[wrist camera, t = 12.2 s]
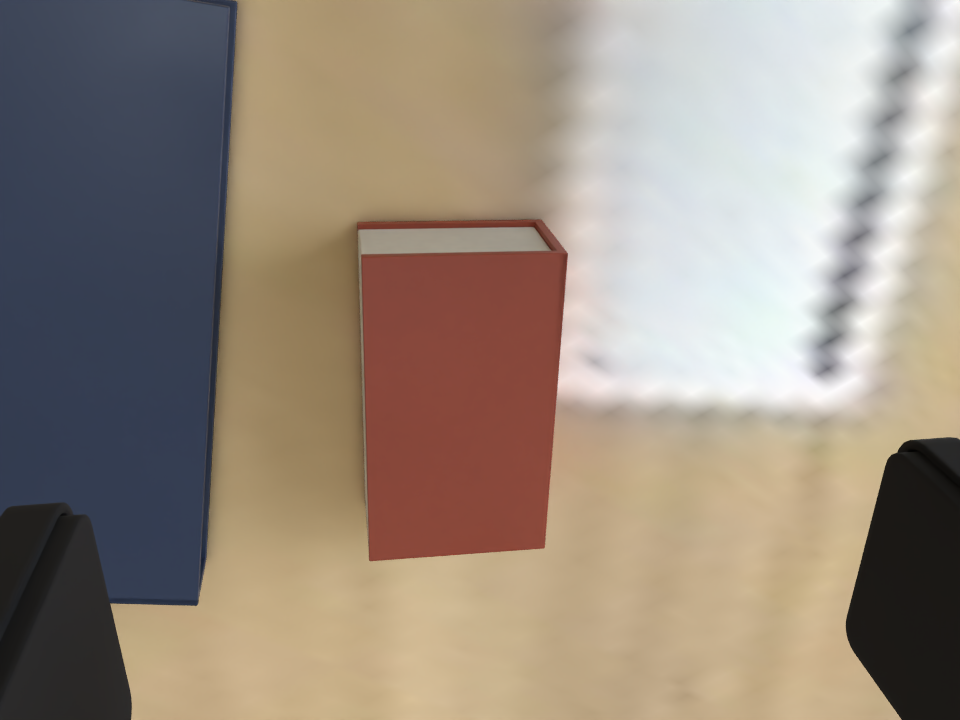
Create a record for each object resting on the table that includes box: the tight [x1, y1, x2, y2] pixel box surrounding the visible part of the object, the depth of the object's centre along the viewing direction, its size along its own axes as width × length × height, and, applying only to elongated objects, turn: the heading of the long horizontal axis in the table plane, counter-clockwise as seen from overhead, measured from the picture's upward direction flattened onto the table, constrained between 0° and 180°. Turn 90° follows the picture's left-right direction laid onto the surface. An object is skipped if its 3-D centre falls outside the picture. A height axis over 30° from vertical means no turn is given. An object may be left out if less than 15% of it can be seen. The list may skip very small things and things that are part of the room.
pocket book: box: [357, 220, 568, 561], centre depth 30 cm, size 6×11×4 cm, turn 178°
